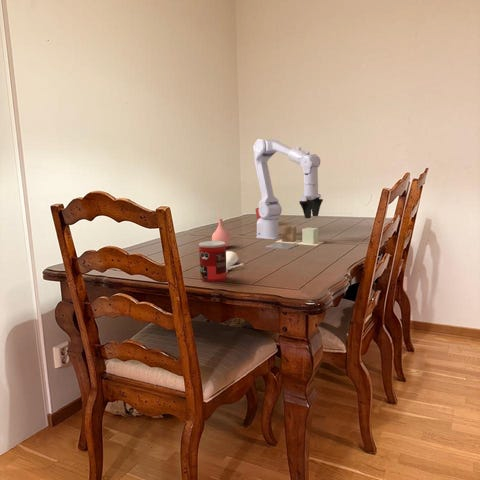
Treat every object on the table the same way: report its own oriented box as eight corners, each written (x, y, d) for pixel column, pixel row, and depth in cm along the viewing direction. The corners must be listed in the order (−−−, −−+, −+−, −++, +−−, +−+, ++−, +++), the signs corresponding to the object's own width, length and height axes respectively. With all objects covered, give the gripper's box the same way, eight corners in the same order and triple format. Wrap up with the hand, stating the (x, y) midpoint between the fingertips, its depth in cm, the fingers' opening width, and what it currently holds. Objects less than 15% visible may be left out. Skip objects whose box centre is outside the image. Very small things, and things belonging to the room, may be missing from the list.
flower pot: (277, 225, 239) (277, 207, 237) (272, 228, 229) (272, 209, 227) (259, 224, 242) (258, 207, 240) (253, 227, 232) (252, 209, 230)
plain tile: (274, 242, 188) (274, 241, 188) (284, 239, 195) (284, 238, 195) (293, 244, 183) (293, 243, 183) (302, 240, 190) (302, 240, 190)
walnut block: (281, 241, 188) (281, 227, 187) (285, 239, 192) (285, 226, 191) (292, 242, 186) (292, 228, 185) (296, 240, 190) (296, 226, 189)
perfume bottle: (212, 246, 182) (211, 217, 180) (230, 246, 182) (230, 217, 180) (211, 250, 175) (210, 220, 173) (230, 249, 175) (229, 219, 173)
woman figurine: (246, 249, 153) (241, 264, 136) (246, 261, 154) (241, 278, 137) (213, 249, 154) (204, 264, 137) (214, 261, 156) (204, 278, 138)
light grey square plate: (265, 248, 176) (265, 246, 176) (277, 243, 185) (277, 242, 184) (287, 250, 171) (287, 248, 171) (298, 245, 179) (298, 244, 179)
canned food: (200, 276, 135) (198, 241, 133) (226, 275, 136) (225, 240, 134) (200, 283, 128) (198, 245, 126) (227, 281, 128) (226, 244, 126)
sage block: (302, 243, 183) (302, 229, 182) (307, 241, 187) (307, 227, 186) (313, 244, 180) (313, 229, 179) (318, 242, 184) (318, 228, 183)
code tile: (295, 244, 182) (295, 243, 182) (305, 240, 190) (305, 240, 190) (315, 246, 178) (315, 245, 178) (324, 242, 185) (324, 241, 185)
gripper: (312, 184, 171) (313, 219, 173) (326, 183, 183) (327, 215, 185) (296, 185, 175) (297, 219, 177) (311, 183, 187) (312, 215, 189)
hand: (311, 217), depth 182 cm, fingers open, 7 cm apart
